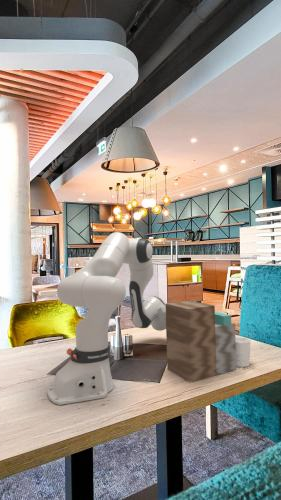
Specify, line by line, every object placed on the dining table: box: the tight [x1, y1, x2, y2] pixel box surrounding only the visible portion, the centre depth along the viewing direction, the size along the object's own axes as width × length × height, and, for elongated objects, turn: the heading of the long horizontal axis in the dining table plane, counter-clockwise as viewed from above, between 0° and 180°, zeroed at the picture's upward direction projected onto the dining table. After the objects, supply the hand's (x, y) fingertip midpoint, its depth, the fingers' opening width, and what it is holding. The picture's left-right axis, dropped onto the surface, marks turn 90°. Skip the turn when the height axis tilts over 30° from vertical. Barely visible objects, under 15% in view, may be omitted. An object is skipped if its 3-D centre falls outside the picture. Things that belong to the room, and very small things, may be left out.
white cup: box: [235, 336, 251, 368], centre depth 131 cm, size 8×8×10 cm
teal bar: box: [215, 311, 232, 326], centre depth 133 cm, size 4×24×4 cm, turn 28°
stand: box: [165, 300, 237, 383], centre depth 126 cm, size 22×15×26 cm
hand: (186, 303), depth 146 cm, fingers open, 8 cm apart
